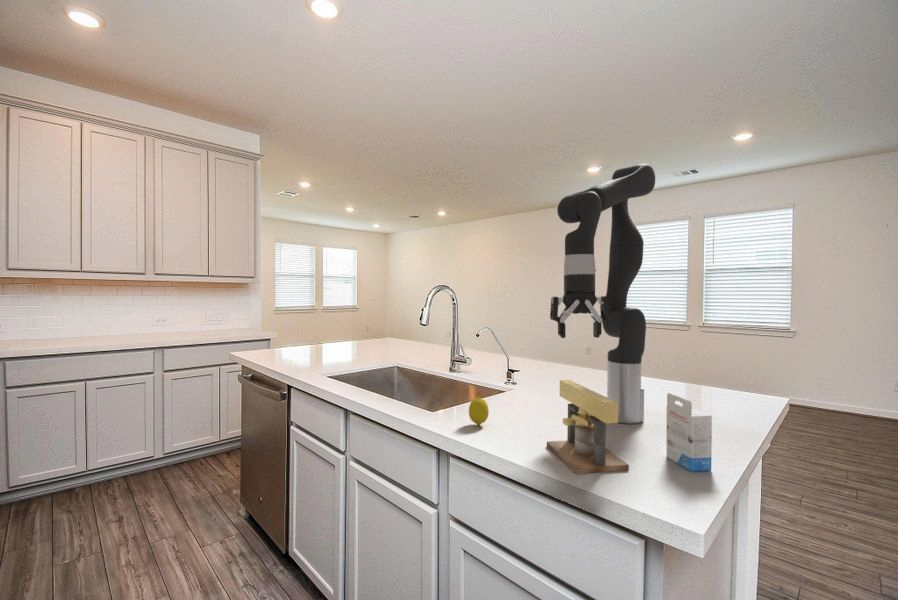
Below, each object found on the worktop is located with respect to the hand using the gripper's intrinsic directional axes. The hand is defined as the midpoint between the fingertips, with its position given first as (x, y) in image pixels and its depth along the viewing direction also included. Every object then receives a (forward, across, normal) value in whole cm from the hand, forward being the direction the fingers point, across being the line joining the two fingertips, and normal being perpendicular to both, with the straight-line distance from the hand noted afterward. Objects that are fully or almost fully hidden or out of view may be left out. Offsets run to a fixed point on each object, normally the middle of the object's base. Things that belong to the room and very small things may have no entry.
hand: (579, 337), depth 102 cm
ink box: (+26, -19, +14) cm, 36 cm away
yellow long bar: (+19, +2, +11) cm, 22 cm away
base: (+26, +3, +11) cm, 28 cm away
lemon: (+26, +25, -11) cm, 38 cm away
